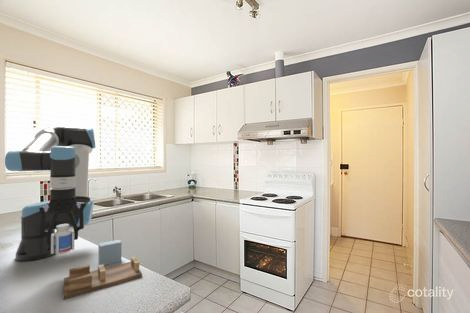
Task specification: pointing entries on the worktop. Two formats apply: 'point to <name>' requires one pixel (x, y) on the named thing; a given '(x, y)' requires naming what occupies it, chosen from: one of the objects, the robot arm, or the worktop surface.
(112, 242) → the block
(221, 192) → the worktop surface
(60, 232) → the pill bottle
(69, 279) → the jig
